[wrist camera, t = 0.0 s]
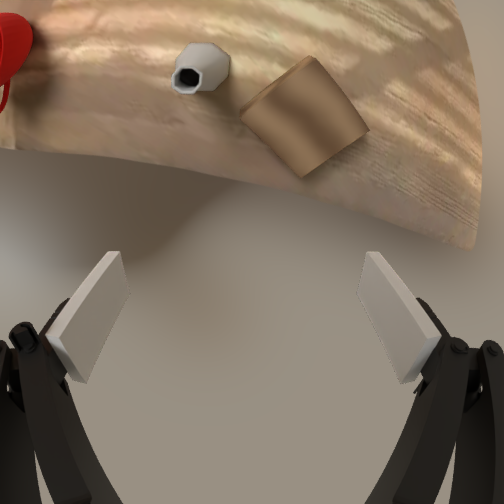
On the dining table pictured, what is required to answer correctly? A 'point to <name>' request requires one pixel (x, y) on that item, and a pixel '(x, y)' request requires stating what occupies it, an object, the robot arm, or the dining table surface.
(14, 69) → the ceramic cup
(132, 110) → the dining table surface
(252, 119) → the plinth
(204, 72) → the flask
